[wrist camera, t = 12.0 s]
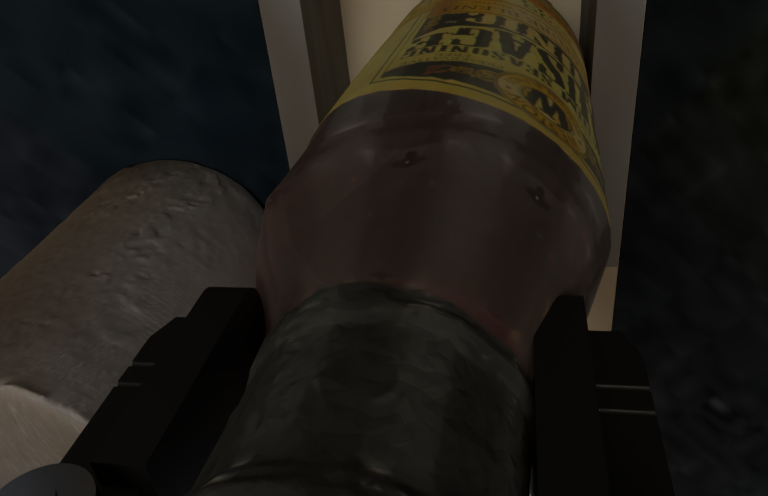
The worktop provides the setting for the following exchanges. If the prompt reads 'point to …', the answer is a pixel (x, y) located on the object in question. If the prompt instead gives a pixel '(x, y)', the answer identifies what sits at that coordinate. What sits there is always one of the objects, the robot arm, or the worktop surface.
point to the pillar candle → (111, 296)
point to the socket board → (378, 21)
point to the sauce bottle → (422, 265)
